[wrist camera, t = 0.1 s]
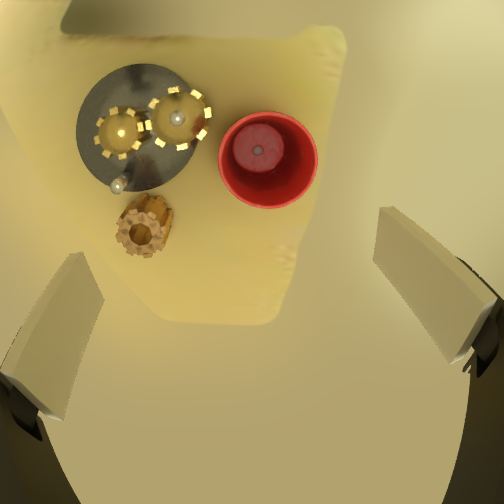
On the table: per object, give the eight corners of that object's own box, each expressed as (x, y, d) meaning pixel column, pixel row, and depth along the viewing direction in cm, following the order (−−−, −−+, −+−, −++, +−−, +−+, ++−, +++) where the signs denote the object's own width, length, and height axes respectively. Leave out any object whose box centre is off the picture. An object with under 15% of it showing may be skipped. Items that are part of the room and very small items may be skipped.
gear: (122, 199, 36) (108, 215, 31) (167, 189, 37) (158, 204, 32) (135, 241, 40) (124, 261, 35) (177, 233, 41) (172, 253, 35)
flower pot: (234, 195, 39) (239, 223, 30) (206, 124, 33) (203, 131, 25) (303, 172, 38) (327, 193, 30) (282, 100, 32) (303, 99, 24)
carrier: (72, 88, 26) (43, 89, 20) (204, 50, 27) (200, 36, 21) (96, 199, 36) (74, 221, 29) (221, 173, 37) (222, 190, 30)
